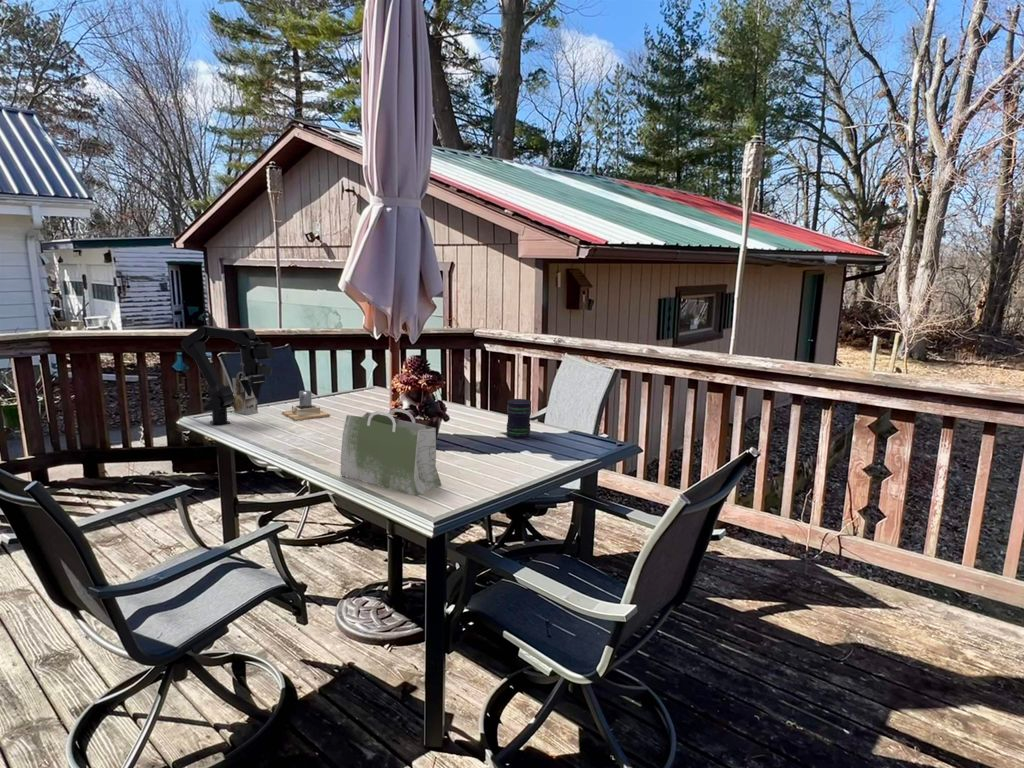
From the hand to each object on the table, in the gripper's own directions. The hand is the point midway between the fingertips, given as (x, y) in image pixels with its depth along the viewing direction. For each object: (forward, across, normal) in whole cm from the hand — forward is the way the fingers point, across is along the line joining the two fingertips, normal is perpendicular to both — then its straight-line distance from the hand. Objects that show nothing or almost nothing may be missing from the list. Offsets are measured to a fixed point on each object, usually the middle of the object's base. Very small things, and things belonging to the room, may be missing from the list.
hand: (253, 397), depth 260 cm
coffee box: (+11, +28, -4) cm, 30 cm away
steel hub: (+12, +9, -25) cm, 29 cm away
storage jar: (+22, -72, -82) cm, 111 cm away
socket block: (+13, +9, -25) cm, 29 cm away
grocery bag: (+19, -91, -11) cm, 94 cm away
